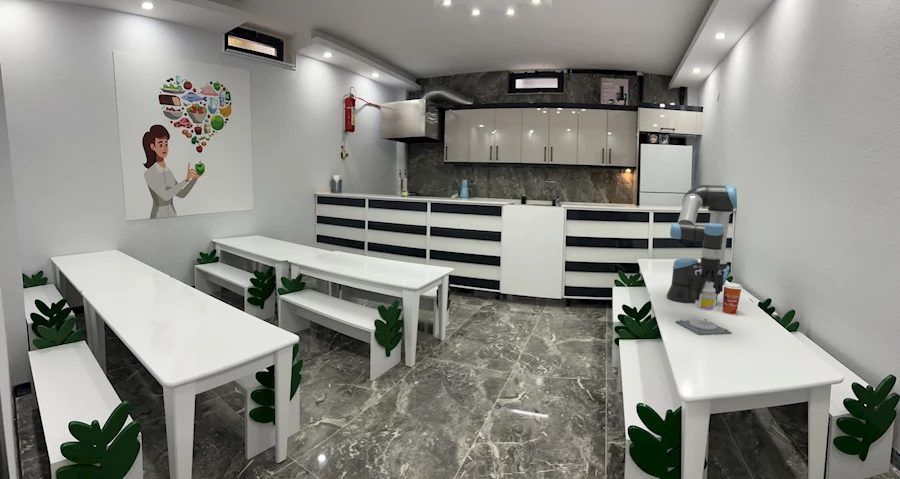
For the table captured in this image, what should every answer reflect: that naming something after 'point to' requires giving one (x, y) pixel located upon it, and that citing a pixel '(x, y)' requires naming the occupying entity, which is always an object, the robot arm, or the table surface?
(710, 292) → the supplement bottle
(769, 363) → the table surface
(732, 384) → the table surface
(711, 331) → the flange
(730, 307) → the coffee cup
